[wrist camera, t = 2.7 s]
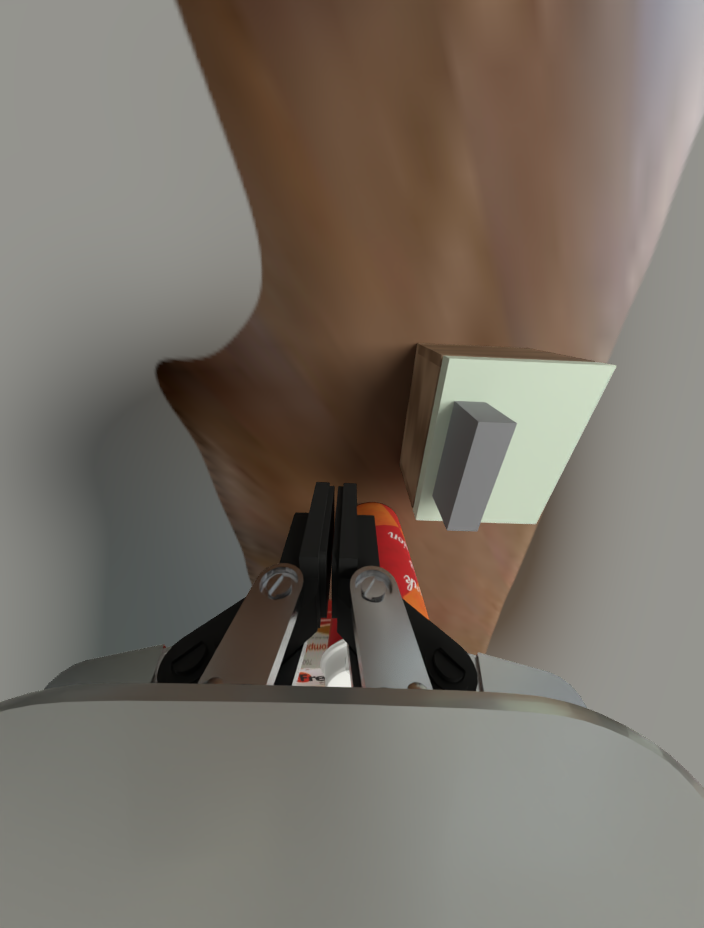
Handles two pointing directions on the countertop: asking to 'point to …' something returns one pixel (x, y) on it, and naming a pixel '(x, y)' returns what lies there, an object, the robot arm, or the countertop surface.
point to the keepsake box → (425, 392)
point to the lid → (503, 437)
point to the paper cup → (395, 562)
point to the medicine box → (315, 654)
